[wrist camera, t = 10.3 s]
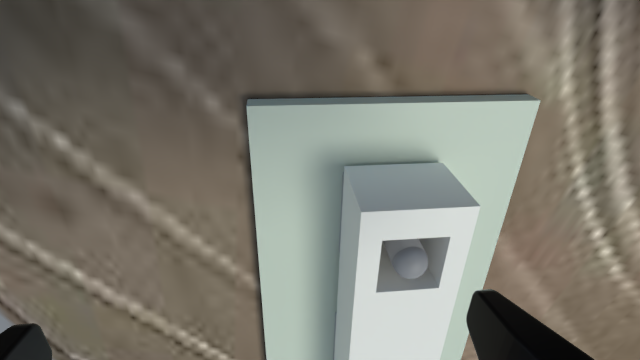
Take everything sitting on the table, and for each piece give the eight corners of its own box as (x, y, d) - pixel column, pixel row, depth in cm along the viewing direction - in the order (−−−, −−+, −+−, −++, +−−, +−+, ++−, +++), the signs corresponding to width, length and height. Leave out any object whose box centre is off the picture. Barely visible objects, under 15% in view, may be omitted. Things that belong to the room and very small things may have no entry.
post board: (528, 94, 19) (618, 140, 14) (448, 368, 30) (484, 449, 25) (247, 99, 18) (238, 152, 13) (269, 386, 29) (269, 475, 24)
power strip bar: (442, 162, 19) (480, 206, 16) (403, 364, 27) (422, 423, 24) (344, 166, 19) (361, 212, 15) (333, 371, 27) (342, 432, 23)
